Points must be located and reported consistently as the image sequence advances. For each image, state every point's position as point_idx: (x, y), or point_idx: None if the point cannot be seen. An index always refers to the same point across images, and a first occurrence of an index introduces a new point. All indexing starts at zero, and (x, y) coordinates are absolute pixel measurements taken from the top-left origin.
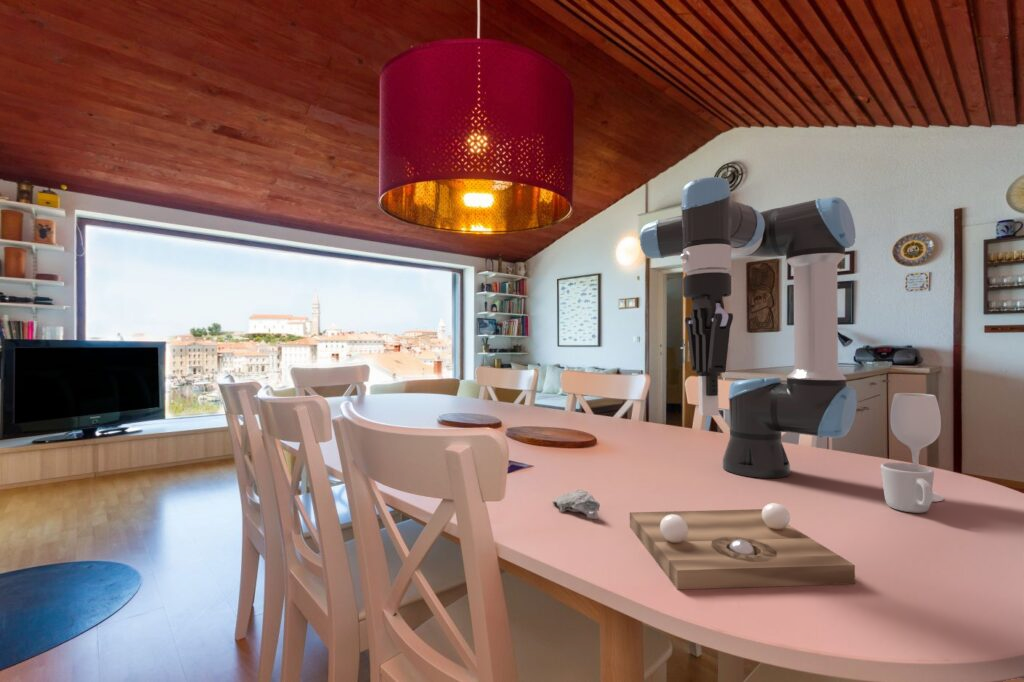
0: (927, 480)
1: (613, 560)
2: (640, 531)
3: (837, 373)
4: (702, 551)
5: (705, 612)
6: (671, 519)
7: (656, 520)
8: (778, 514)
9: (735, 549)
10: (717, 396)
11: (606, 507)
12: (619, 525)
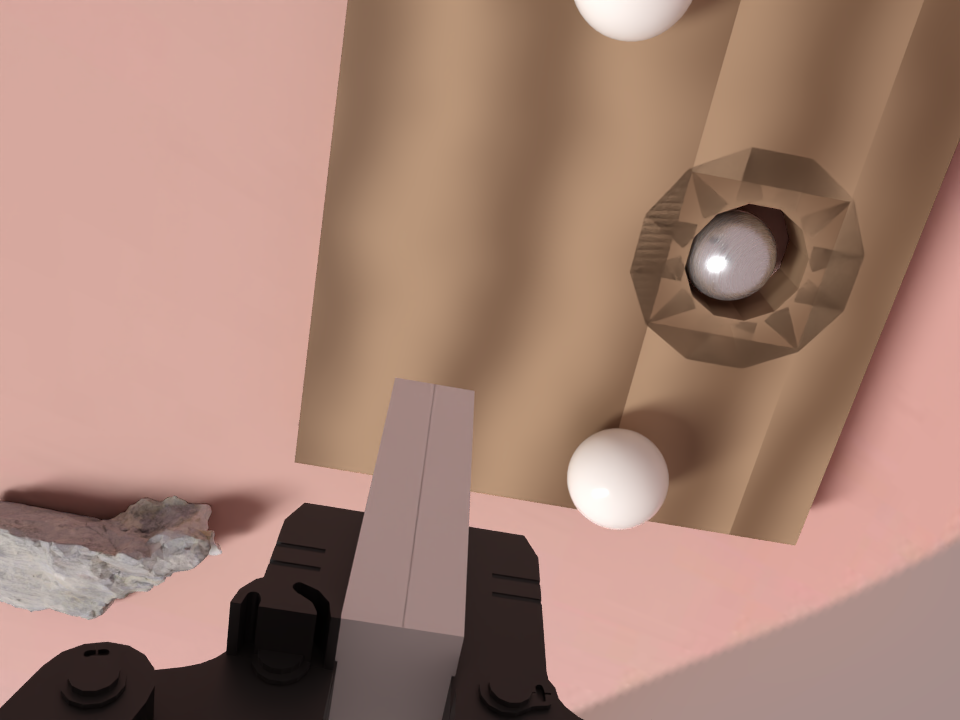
0: None
1: (558, 586)
2: None
3: None
4: (714, 410)
5: (902, 508)
6: (640, 520)
7: None
8: (688, 6)
9: (744, 297)
10: (468, 490)
11: (72, 425)
12: (284, 460)
